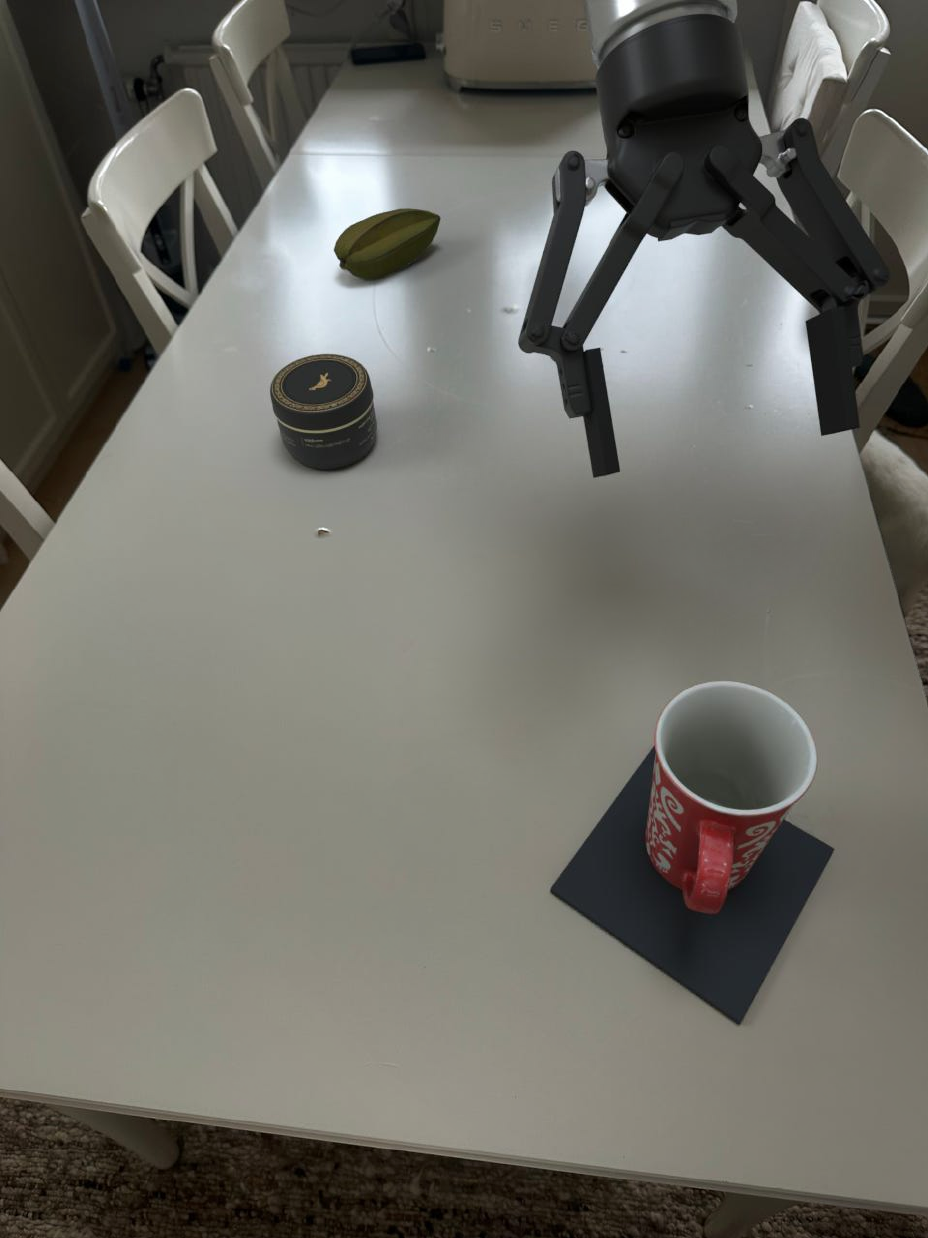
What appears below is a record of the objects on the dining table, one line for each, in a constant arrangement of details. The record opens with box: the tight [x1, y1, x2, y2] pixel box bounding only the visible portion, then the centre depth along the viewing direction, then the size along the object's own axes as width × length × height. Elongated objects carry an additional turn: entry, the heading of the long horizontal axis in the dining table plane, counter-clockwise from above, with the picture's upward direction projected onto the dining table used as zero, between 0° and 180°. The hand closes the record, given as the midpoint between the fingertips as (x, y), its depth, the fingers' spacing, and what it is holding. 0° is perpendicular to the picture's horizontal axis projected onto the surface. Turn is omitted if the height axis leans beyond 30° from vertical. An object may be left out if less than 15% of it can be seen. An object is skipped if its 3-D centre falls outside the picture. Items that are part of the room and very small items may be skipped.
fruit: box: [333, 207, 441, 281], centre depth 109 cm, size 11×12×7 cm
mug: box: [646, 680, 818, 914], centre depth 54 cm, size 13×9×14 cm
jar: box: [269, 353, 378, 471], centre depth 87 cm, size 10×10×8 cm
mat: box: [549, 745, 835, 1025], centre depth 59 cm, size 14×14×1 cm
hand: (724, 454), depth 48 cm, fingers open, 13 cm apart
